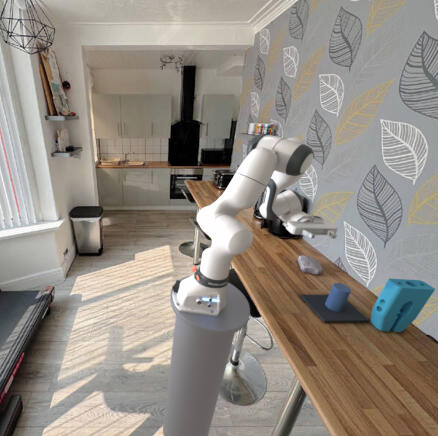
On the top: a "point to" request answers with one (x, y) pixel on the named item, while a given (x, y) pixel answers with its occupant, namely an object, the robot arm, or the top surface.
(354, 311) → the mat
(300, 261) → the stone block
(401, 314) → the block
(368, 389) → the top surface
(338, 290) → the cylinder block
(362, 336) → the top surface
